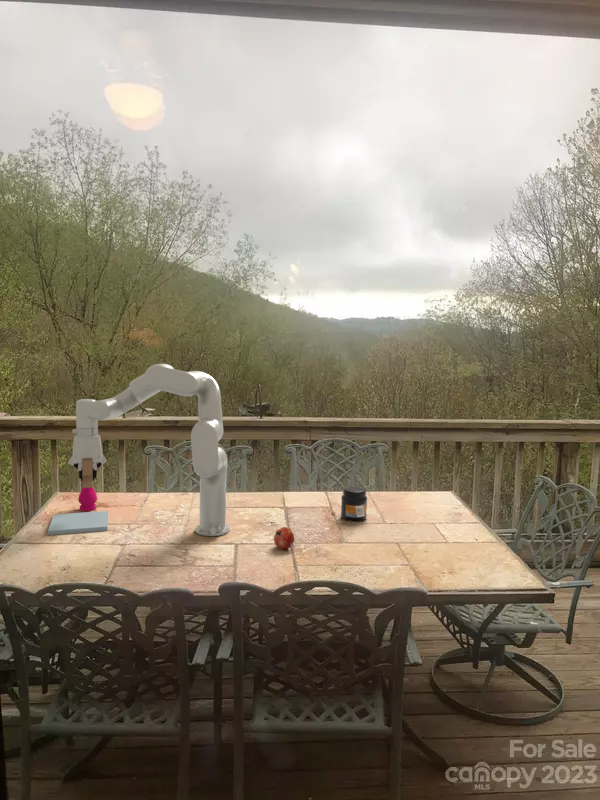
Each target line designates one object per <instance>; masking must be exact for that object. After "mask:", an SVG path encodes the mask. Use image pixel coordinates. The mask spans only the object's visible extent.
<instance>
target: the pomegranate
mask: <svg viewBox="0 0 600 800" xmlns="http://www.w3.org/2000/svg"><path fill="white" fill-rule="evenodd" d="M273 535H274V536H273V542H274V544H275V546H276V547H277V548H280V549H282V550H288V549H290V548H291V546H294V542H295V535H294V532H293V531H292V529H291V528H289V527H288V526H287V527H286V526H284V527H281V528H279V529H277V530H276V531H275V534H273Z"/></svg>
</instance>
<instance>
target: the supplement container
mask: <svg viewBox="0 0 600 800" xmlns="http://www.w3.org/2000/svg"><path fill="white" fill-rule="evenodd" d="M340 499H341V503H340V504H341V505H340V506H341V510H340V511H341V512H340V516H341V518H342V519H344V520H346V521H349V520H351V522H359V521H360V520H361V521H364V520H365V519H366V518H367V515H368V514H367V509H368V507H367V505H368V497H367V489H366V488H365V487H363V486H362V487H361V486H358V485H357V486H356V485H355V486H353V485H351V486H350V485H349V486H344V487H343V488H342V495H341V497H340ZM361 521H360V522H361Z"/></svg>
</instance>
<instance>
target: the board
mask: <svg viewBox="0 0 600 800" xmlns="http://www.w3.org/2000/svg"><path fill="white" fill-rule="evenodd" d="M108 521H109V510H101V511H100V510H99V511H88V512H84V511H82V512H73V513H72V512H68V513H57V514H56V513H55V514H53V516H52V519H51V521H50V524H49V527H48V529H47V536H53V535H54V536H55V535H66V534H67V535H68V534H78V533H79V534H80V533H92V532H93V533H94V532H105V531H108V526H109V524H108V523H109V522H108Z"/></svg>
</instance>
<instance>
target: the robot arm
mask: <svg viewBox="0 0 600 800" xmlns="http://www.w3.org/2000/svg"><path fill="white" fill-rule="evenodd" d="M161 391H162V392H166V393H170V394H174V395H178V396H184V397H192V396H195V395H197V398H198V400H197V401H198V402H197V411H198V421H197V422H196V423H195V424H194V426H193V427H192V429H191V433H190V445H191V457H192V458H191V459H192V467H193V470H194V472H195V474H197V476H199V477H200V479H199V525H197V526H195V528H194V529H195V530H194V531H195V533H196V534H197V535H199V536H205V537H219V536H223V535H225V534H227V533H229V532H230V531H231V530H230V526H229V525H228V524H226V512H227V511H226V506H227V505H226V504H227V492H226V491H227V471H228V464H229V463H228V460H229V459H228V455H227V453H226V451H225V450H224V448H222V447H220V446H219V441H220V440H221V439H222V437H223V435H224V424H223V421H224V420H223V408H222V397H221V396H222V395H221V390H220V387H219V384H218V382H217V381H216V380H215V379H214V377H213V376H211V375H210V374H209V373H206V372H204V371H201V370H190V371H184V370H179V369H175V368H174V367H173V366H172V365H170V364H167V363H157V364H152V365H150V366H149V367H148V368H147V369H146V371H145V372H144V373H143V374H141V375H140V376H137V377H136V378H134V379H133V380H131V381H130V382H129V386H128V387H127V388H126V389H125V390H123V391H121V392H120V393H118V394H117V395H115V396H113V397H110V398H106V399H101V400H97V399H94V398H82V399H78V400H76V403H75V415H76V416H75V419H76V421H75V422H76V428H74V429H73V428H72V432H71V433H72V434H76V435H74V438H73V442H72V443H73V444H72V455H71V457H70V458H69V460H68V463H67V464H69V465H70V466H73V467H74V468H75V469H77V470H78V479H79V480H80V482H82V459H84V458H92V463H93V482H94V481H95V480H96V479H97V477H98V473H97V472H98V471H97V470H98V469H99V468H100V467H101V466H102V465H104V464H106V463H107V459H106V456H105V455H104V454H103V448H102V439H101V435H100V434H99V427H98V426H99V421H107V420H112V419H115V418H118V417H120V416H123V415H124V414H126V413H128V412H129V411H130V410H132V409H134V408H135V407H137V406H139V405H141V404H142V403H143V402H144V401H146V400H148V399H150V398H151V397H153V396H155V395H156V394H158V393H159V392H161Z"/></svg>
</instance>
